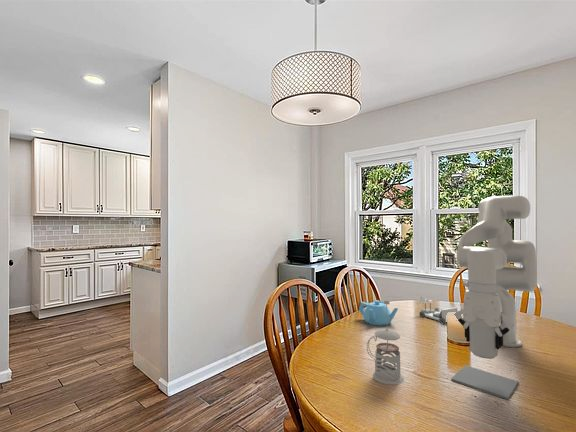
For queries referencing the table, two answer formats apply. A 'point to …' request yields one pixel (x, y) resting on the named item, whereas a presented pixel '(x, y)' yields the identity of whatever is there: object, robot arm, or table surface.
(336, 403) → the table surface
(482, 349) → the can
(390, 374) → the french press
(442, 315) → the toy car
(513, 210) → the robot arm
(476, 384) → the mat
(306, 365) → the table surface
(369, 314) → the teapot
